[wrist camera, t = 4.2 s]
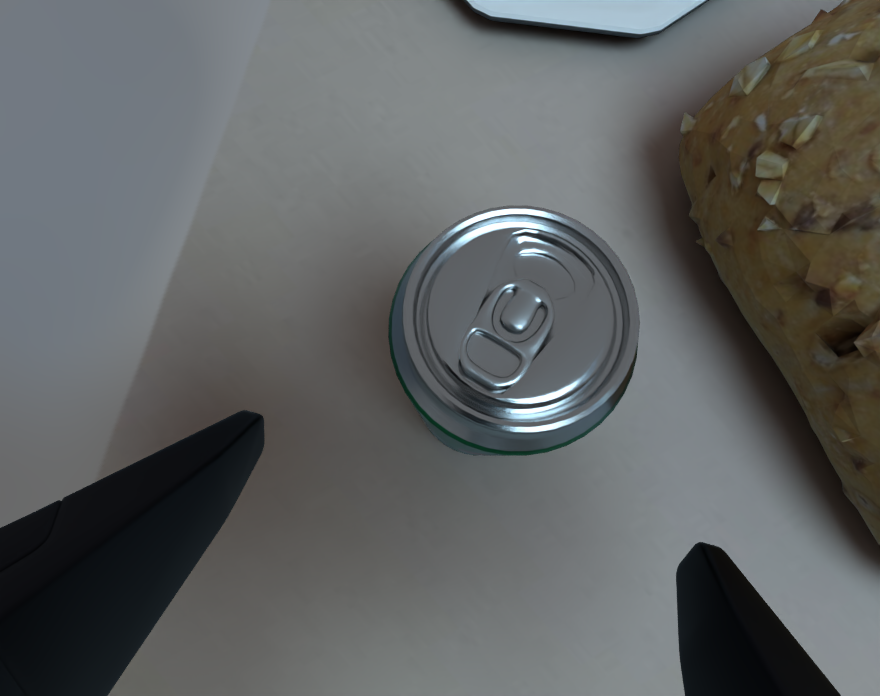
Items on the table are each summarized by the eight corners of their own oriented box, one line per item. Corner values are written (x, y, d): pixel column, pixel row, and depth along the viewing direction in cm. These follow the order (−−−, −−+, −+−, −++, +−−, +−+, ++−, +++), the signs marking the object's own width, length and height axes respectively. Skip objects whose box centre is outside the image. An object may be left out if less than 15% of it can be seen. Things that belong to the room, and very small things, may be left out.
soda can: (559, 375, 21) (710, 269, 9) (498, 479, 20) (577, 515, 8) (458, 315, 21) (474, 142, 9) (395, 413, 20) (326, 355, 9)
